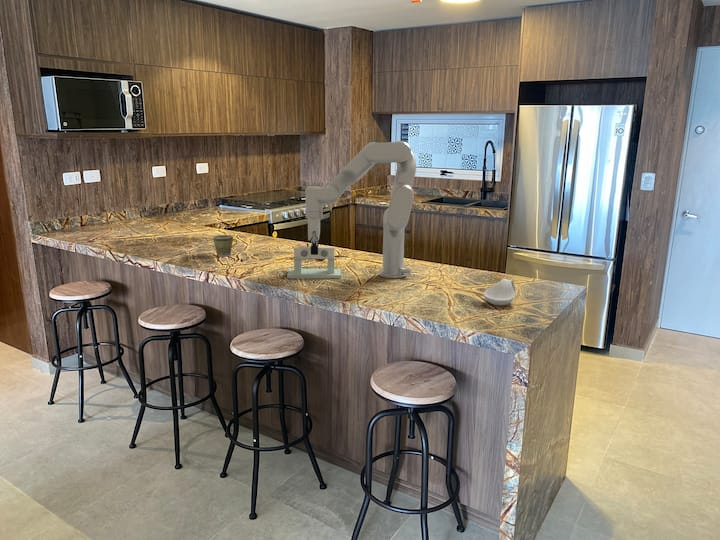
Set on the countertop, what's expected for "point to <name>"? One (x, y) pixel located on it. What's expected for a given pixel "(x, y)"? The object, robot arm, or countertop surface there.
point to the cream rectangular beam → (306, 254)
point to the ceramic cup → (223, 245)
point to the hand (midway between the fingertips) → (314, 252)
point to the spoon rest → (501, 293)
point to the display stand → (313, 270)
